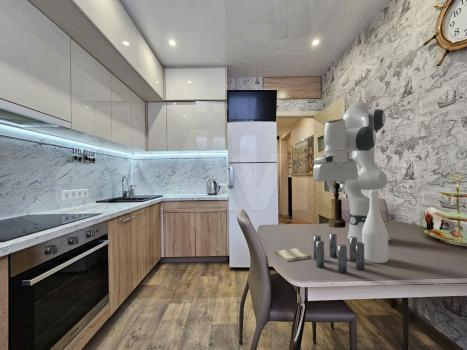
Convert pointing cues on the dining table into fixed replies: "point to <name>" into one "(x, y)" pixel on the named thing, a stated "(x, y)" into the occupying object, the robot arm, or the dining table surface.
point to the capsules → (340, 253)
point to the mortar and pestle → (336, 210)
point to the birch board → (292, 254)
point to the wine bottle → (375, 233)
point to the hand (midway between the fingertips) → (336, 192)
